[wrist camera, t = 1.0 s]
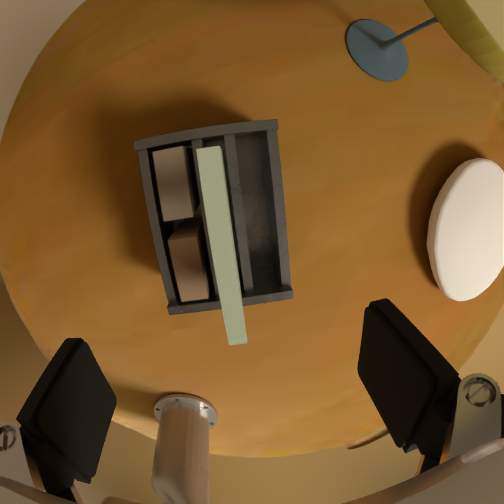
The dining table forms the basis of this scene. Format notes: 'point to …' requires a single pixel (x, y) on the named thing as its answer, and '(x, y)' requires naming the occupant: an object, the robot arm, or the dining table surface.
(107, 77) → the dining table surface
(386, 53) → the cocktail glass
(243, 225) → the rack
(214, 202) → the sage sheet
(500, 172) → the plate
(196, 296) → the walnut offcut
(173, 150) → the brown offcut
